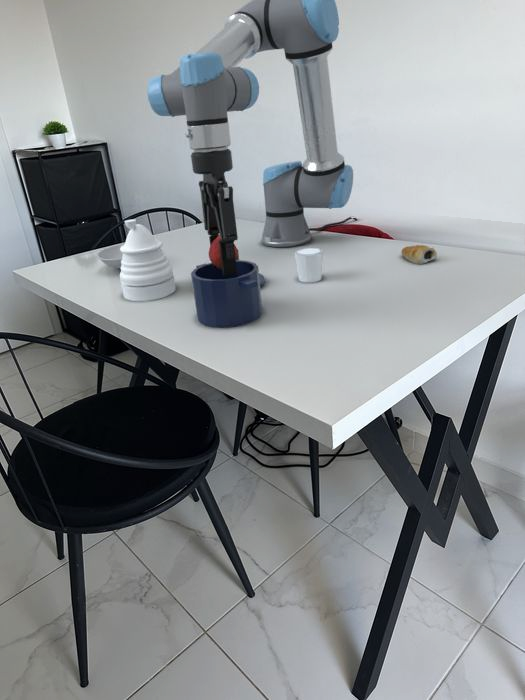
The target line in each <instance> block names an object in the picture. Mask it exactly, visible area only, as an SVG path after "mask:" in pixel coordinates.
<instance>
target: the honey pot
mask: <svg viewBox="0 0 525 700" xmlns="http://www.w3.org/2000/svg"><path fill="white" fill-rule="evenodd" d="M124 225H125V226H126V228H127V229H129V230H128V234H127V235H126V239H125V242H124V244H125V245H123V246H121V248H120V251H121V252H122V253H123V257H122V261H121V264H122V266H121V268H120V273H119V279H120V280H119V281H120V285H121V291H122V295H123V298H124V299H126V300H127V301H130V302H131V301H133V302H148V301H153V300H159V299H162V298H165V297H168V296H170V295H171V294H173V293H174V292H175V291H176V288H177V286H176V281H175V276H174V269H173V267H172V265H171V264H170V263H169V260H168V259H167V255H166V253H164V251H163V249H162V247H163V242H162V241H160V240H159V239H156V238H155V236H154V235H153V233H152V232H151V231H150V230H149V229H148V228H147V227H145V225H143V224H140V223H137V220H136V219H127V220H124Z"/></svg>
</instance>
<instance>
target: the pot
mask: <svg viewBox="0 0 525 700" xmlns="http://www.w3.org/2000/svg"><path fill="white" fill-rule="evenodd" d="M236 268H237V274H232V275H227V276H224V275H223V270H221V269H219V268H218V267H216V268H214V267H213V263H212V262H208V263H206V262H205V263H202V264H199V265H196V267H195V268H194V269H192V271H191V273H190V276H191V283H192V284H191V285H192V290H193V297H194V303H195V310H196V316H197V320H198V322H199V323H200V324H201V325H204V326H206V327H210V328H217V329H227V328H235V327H237V328H238V327H241V326H245V325H247V324H251V323H253V322H255V321H256V320H258V319H259V318H260V317H261V316H262V312H263V305H262V294H261V285H260V281H259V273H260V270H259V265H258V264H256V262H252V261H250V260H242V259H239V260H236Z"/></svg>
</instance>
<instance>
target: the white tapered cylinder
mask: <svg viewBox="0 0 525 700" xmlns="http://www.w3.org/2000/svg"><path fill="white" fill-rule="evenodd" d="M294 257H295V264H296V269H297V277H298V281H299V282H301V283H307V284H309V283H317V282H320V281H321V280H322V277H323V273H322V272H323V261H324V259H323V258H324V249H322V248H318V247H303V248H299V249H297V250H295V252H294Z"/></svg>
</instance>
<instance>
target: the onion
mask: <svg viewBox="0 0 525 700" xmlns="http://www.w3.org/2000/svg"><path fill="white" fill-rule="evenodd" d="M218 241H221V239H220V234H219V236H218V237H217V238H216V239H215V240H214V241H213V242H212V244H211V246H210V245H209V249H208V258H209V261H210V263H213V264H214V265H215V266H216V267H218V268H219V269H221V270H222V261H221V253H220V244H218ZM234 249H235V258H236V259H237V257H238V253H239V250H238V251H237V249H238V248H237V245H236V244H235V243H234Z"/></svg>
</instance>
